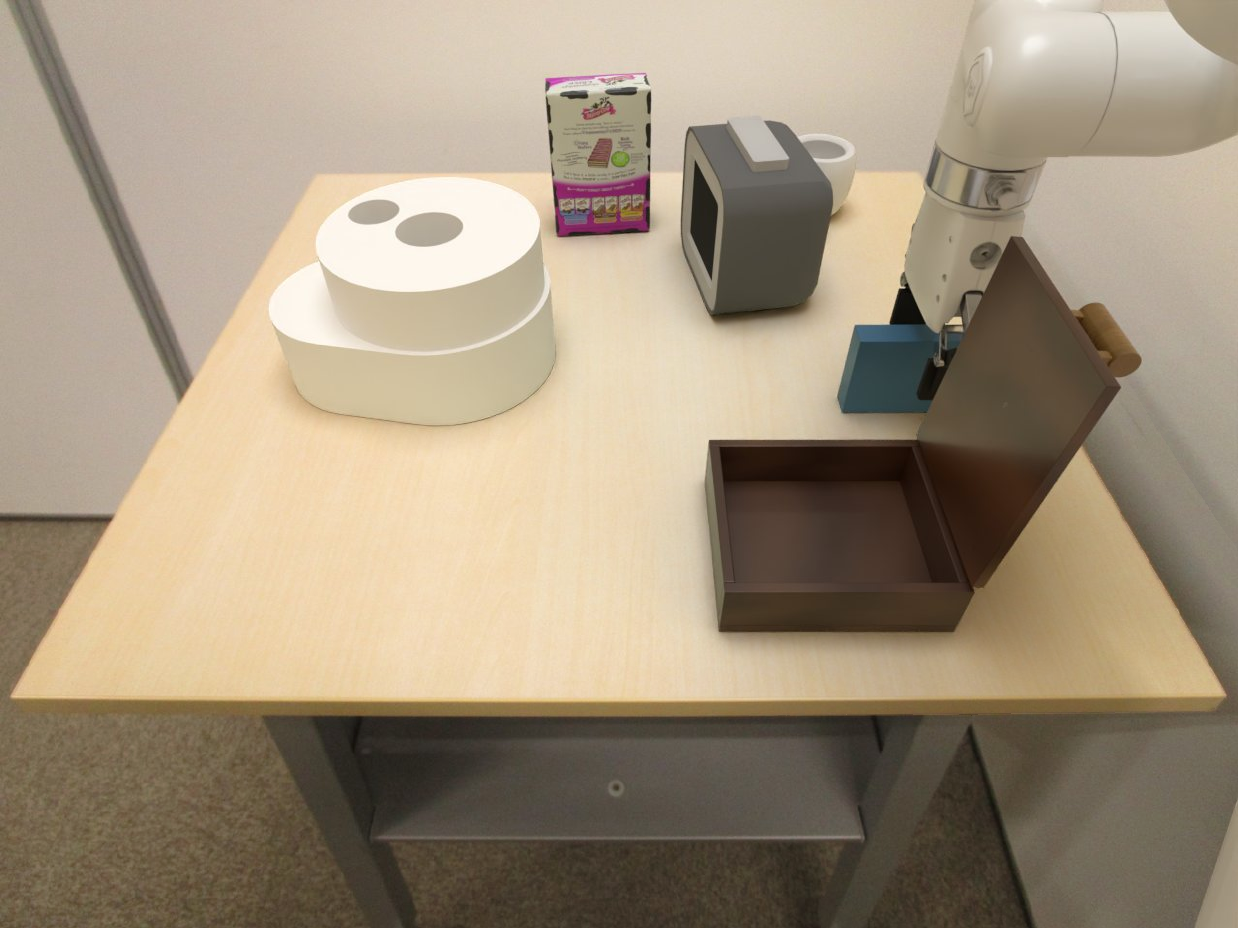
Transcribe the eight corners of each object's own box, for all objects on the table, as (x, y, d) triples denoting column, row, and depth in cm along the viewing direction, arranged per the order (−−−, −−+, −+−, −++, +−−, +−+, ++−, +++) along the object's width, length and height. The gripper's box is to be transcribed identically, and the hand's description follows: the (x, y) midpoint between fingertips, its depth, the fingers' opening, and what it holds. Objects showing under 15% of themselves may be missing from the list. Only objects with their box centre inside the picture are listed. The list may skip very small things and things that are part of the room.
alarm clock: (679, 242, 94) (686, 106, 82) (773, 234, 95) (793, 98, 84) (713, 326, 82) (727, 180, 71) (820, 314, 84) (851, 170, 72)
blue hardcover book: (841, 412, 73) (860, 341, 67) (837, 395, 75) (854, 324, 69) (975, 412, 73) (1005, 341, 67) (967, 395, 75) (995, 324, 69)
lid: (1106, 386, 41) (1205, 393, 41) (1010, 235, 51) (1090, 242, 51) (971, 588, 53) (1048, 592, 54) (916, 434, 64) (980, 438, 64)
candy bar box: (645, 211, 99) (648, 70, 87) (650, 232, 95) (654, 88, 84) (553, 216, 98) (543, 75, 86) (555, 237, 95) (545, 93, 83)
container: (306, 311, 85) (264, 188, 75) (546, 289, 87) (535, 167, 77) (281, 443, 71) (225, 313, 61) (566, 412, 73) (556, 282, 64)
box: (718, 631, 57) (724, 592, 54) (704, 480, 67) (708, 439, 64) (954, 632, 57) (975, 592, 54) (904, 480, 67) (919, 439, 64)
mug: (773, 191, 102) (782, 129, 96) (841, 193, 102) (854, 131, 96) (780, 241, 94) (790, 176, 88) (854, 243, 93) (869, 179, 88)
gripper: (1082, 235, 52) (995, 429, 64) (996, 121, 64) (936, 303, 76) (965, 235, 52) (900, 429, 64) (901, 121, 64) (856, 303, 76)
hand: (920, 361), depth 70 cm, fingers open, 9 cm apart
